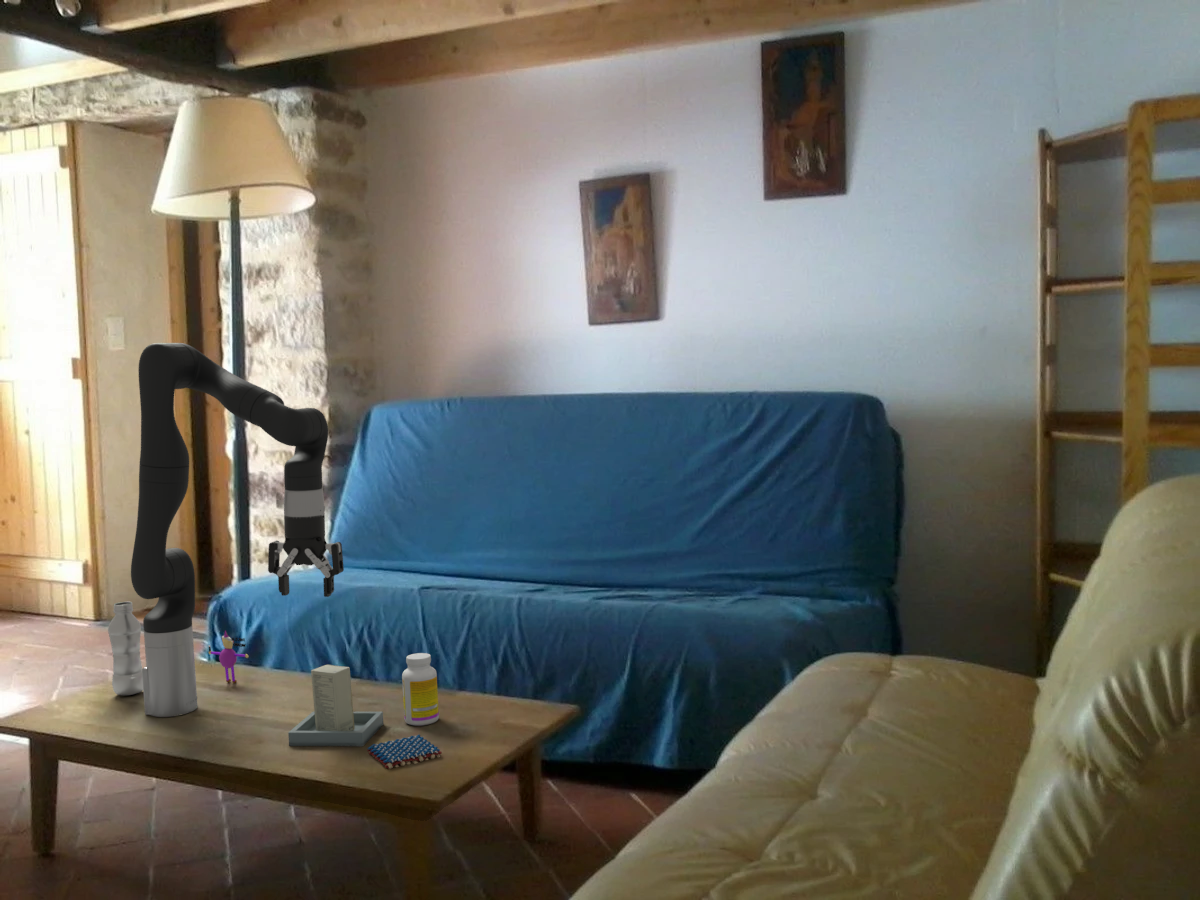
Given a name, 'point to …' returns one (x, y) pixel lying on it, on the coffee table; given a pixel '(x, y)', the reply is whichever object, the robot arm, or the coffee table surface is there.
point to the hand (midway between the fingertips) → (306, 595)
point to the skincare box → (332, 698)
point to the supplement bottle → (420, 690)
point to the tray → (363, 731)
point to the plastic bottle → (125, 650)
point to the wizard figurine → (229, 655)
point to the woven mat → (403, 751)
